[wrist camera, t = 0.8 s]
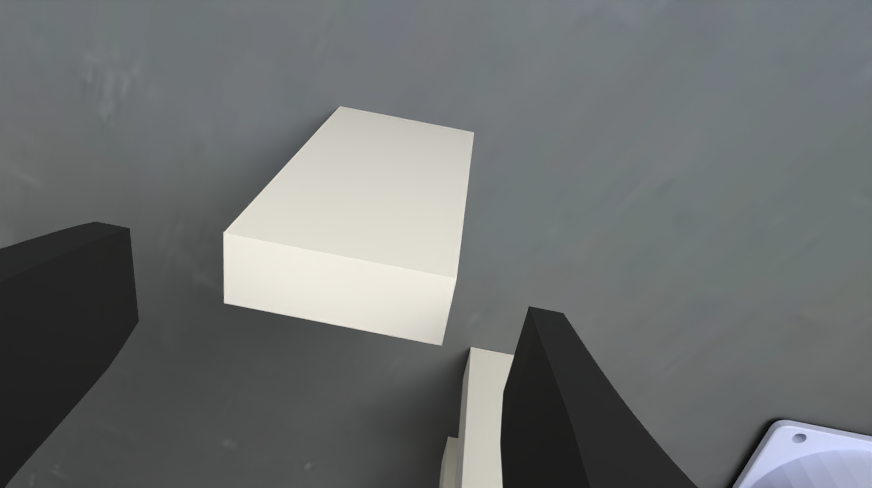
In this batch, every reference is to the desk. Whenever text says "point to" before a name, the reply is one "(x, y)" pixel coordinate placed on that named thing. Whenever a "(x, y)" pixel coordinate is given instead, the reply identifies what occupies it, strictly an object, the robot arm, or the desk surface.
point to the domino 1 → (358, 228)
